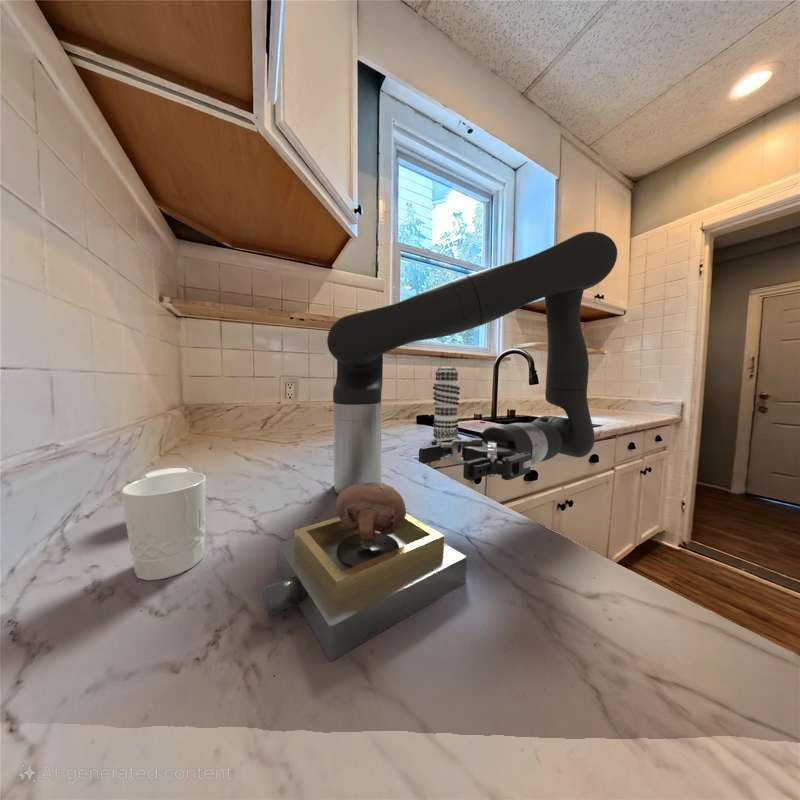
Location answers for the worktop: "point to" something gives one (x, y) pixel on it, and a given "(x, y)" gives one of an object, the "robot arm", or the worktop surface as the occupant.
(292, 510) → the worktop surface
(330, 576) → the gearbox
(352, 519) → the mushroom
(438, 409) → the decorative candle
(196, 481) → the white cup
